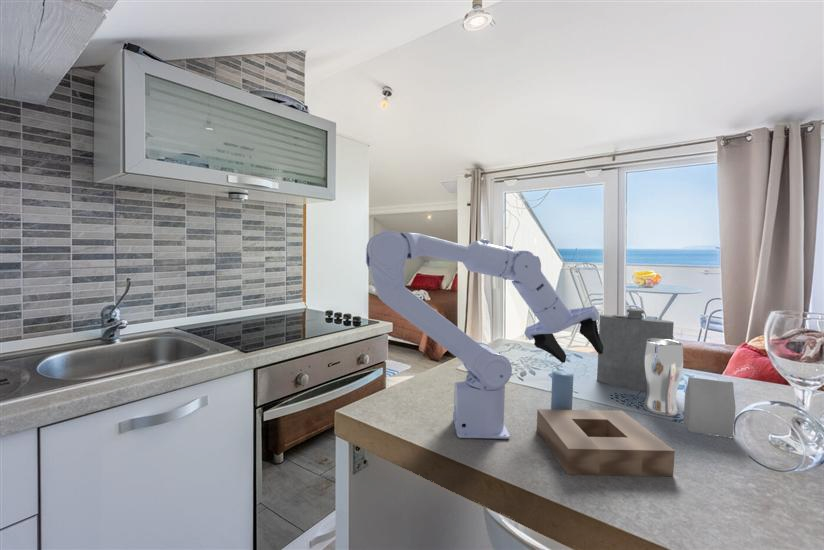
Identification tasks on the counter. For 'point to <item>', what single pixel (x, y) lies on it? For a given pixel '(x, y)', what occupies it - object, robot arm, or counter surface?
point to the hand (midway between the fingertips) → (582, 355)
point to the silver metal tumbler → (662, 375)
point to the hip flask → (627, 347)
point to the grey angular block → (709, 407)
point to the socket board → (603, 443)
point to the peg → (562, 390)
